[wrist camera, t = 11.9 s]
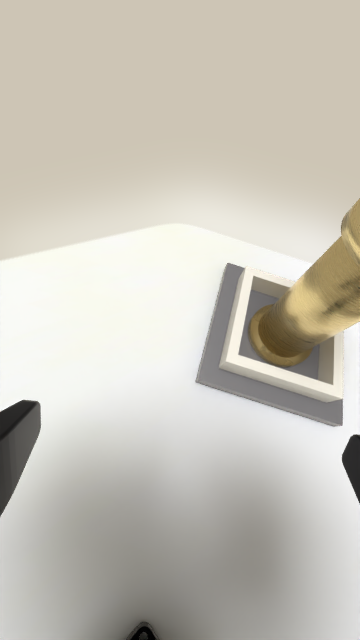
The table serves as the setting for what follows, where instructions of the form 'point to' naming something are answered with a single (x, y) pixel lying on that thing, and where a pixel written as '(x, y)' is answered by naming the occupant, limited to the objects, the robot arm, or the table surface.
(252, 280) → the socket plate
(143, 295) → the table surface
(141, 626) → the robot arm
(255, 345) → the brass fitting
